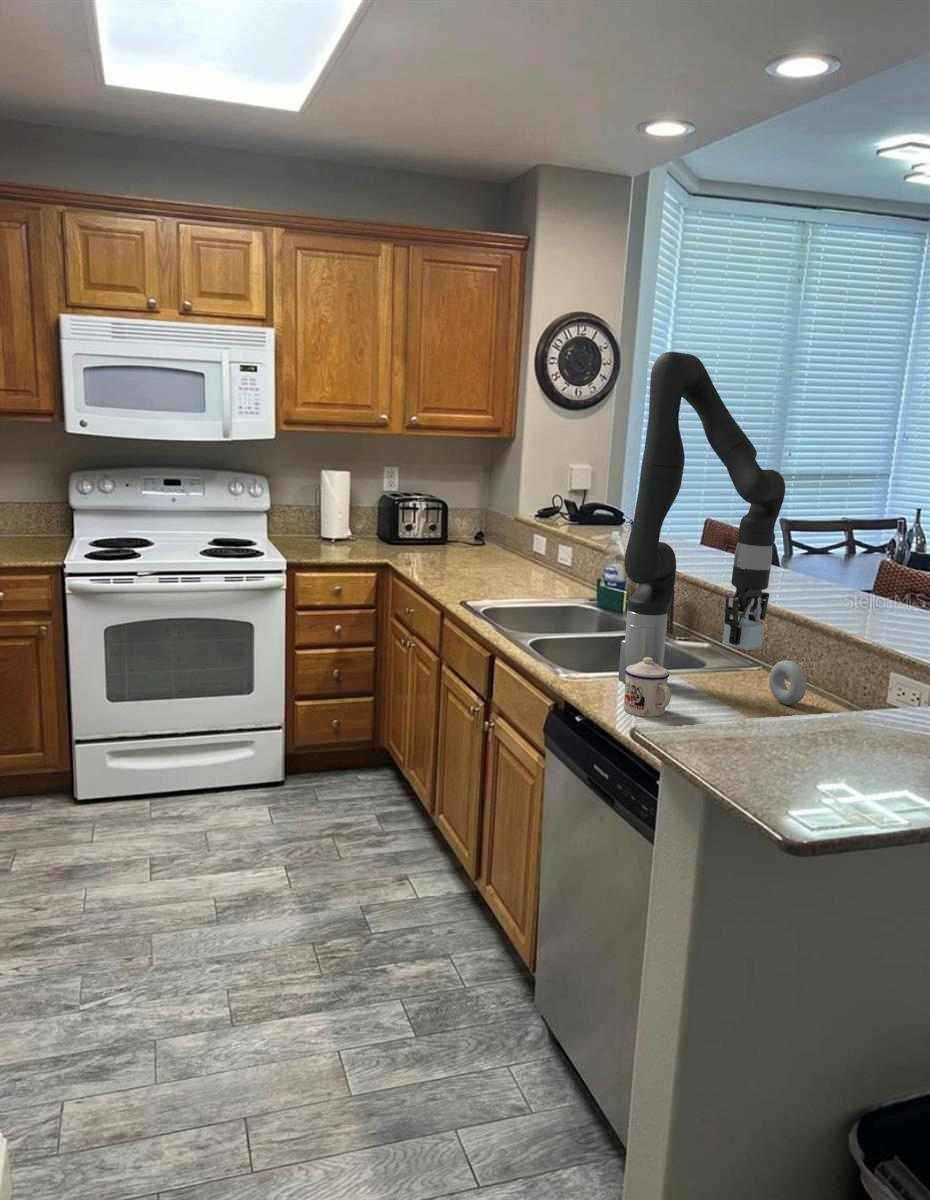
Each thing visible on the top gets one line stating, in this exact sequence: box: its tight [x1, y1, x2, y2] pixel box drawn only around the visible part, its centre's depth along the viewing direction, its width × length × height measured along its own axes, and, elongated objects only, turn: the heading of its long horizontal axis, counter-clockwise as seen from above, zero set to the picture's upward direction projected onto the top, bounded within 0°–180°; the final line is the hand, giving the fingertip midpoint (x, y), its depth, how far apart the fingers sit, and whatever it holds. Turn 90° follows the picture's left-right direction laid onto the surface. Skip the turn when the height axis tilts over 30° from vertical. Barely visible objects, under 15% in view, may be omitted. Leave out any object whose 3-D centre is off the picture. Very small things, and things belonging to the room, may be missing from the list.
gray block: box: [721, 617, 766, 651], centre depth 197 cm, size 6×6×5 cm
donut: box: [768, 659, 808, 706], centre depth 203 cm, size 10×4×10 cm, turn 24°
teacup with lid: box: [623, 657, 672, 718], centre depth 193 cm, size 12×9×12 cm
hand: (742, 641), depth 197 cm, fingers closed on gray block, 6 cm apart
